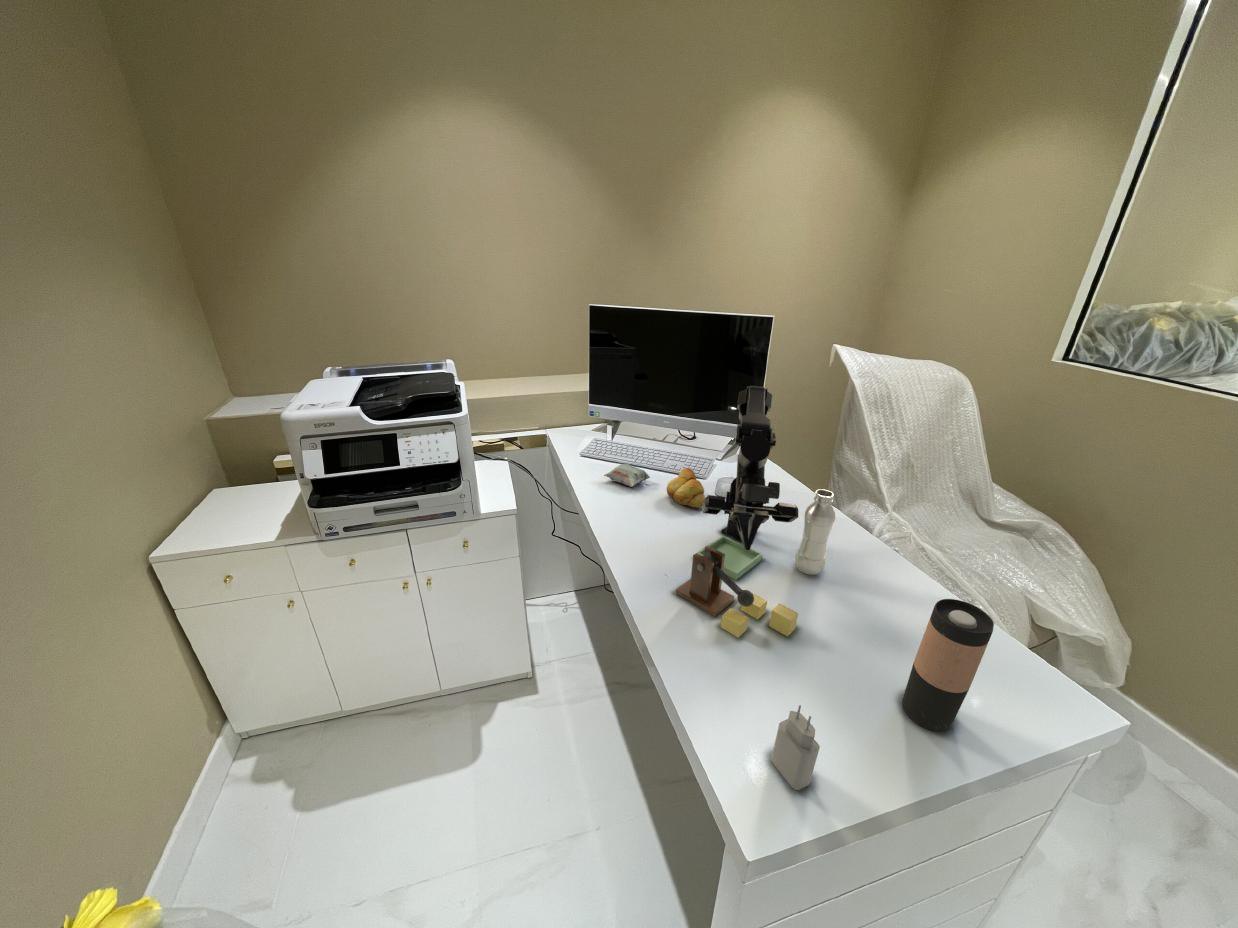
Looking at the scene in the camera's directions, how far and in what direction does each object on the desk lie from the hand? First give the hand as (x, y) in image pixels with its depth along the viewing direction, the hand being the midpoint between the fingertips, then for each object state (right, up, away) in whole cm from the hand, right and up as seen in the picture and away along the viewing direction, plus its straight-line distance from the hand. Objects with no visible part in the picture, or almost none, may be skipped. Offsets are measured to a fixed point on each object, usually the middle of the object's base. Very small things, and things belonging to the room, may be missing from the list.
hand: (747, 550), depth 102 cm
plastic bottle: (+18, -7, +14) cm, 24 cm away
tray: (0, -5, +17) cm, 18 cm away
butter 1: (-4, -15, -4) cm, 16 cm away
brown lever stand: (-8, -11, +5) cm, 14 cm away
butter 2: (+1, -13, +1) cm, 13 cm away
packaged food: (-24, +12, +54) cm, 60 cm away
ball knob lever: (-5, -7, 0) cm, 8 cm away
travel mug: (+24, -23, -20) cm, 39 cm away
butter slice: (+6, -15, -3) cm, 16 cm away
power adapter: (-1, -27, -30) cm, 40 cm away
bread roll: (-7, +7, +44) cm, 45 cm away
